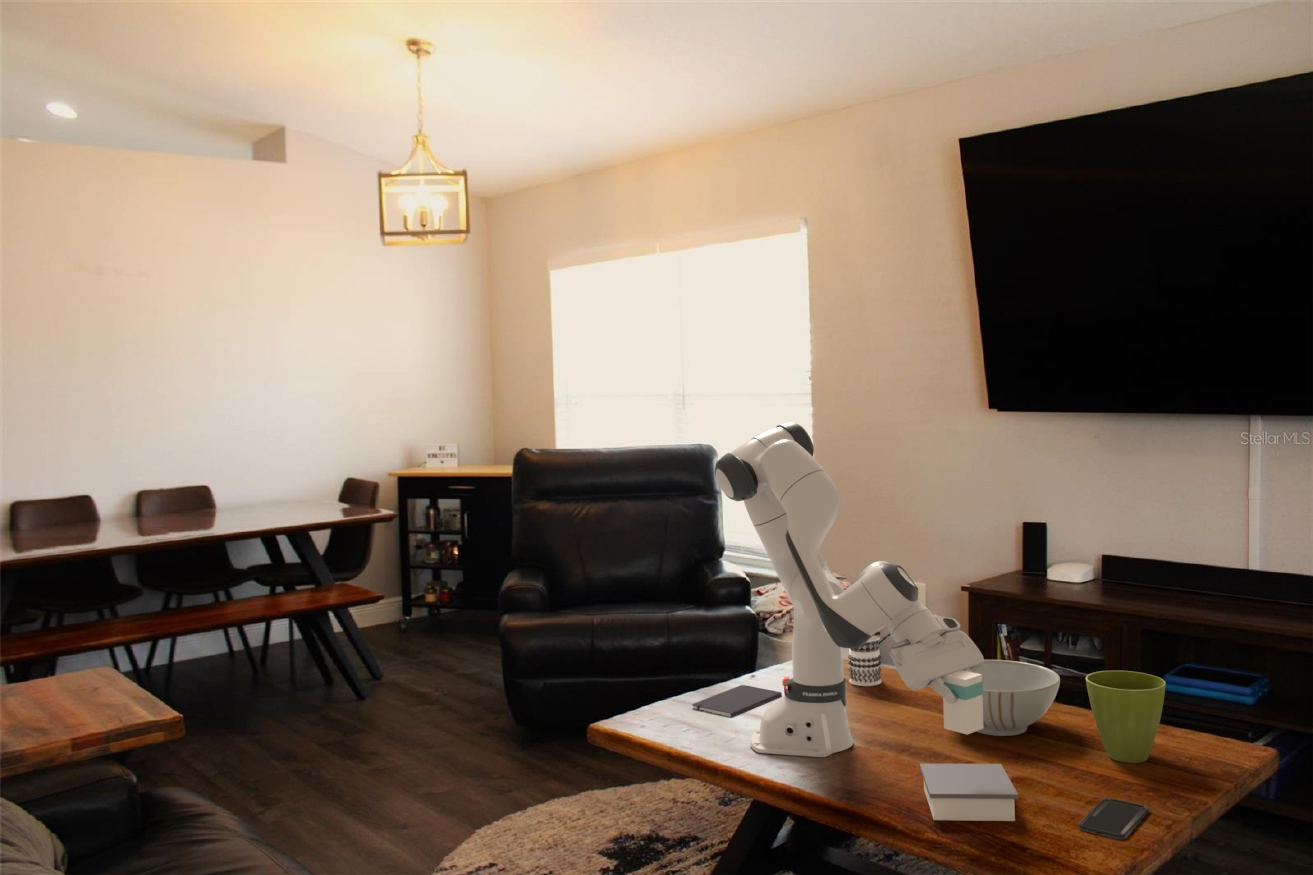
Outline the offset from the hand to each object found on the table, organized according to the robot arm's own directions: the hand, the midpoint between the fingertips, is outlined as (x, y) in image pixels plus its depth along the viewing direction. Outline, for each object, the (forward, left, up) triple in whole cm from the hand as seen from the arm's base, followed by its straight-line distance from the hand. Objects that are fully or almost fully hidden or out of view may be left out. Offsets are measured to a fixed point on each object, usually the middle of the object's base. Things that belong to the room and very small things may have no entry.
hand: (965, 697), depth 189 cm
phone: (+24, -5, -21) cm, 32 cm away
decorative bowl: (+14, +46, -21) cm, 52 cm away
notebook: (-46, +66, -21) cm, 83 cm away
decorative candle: (-13, +84, -20) cm, 87 cm away
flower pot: (+36, +27, -20) cm, 49 cm away
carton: (0, 0, -6) cm, 6 cm away
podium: (0, +1, -20) cm, 20 cm away
